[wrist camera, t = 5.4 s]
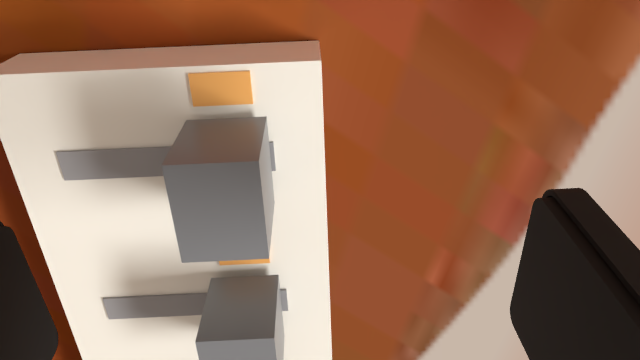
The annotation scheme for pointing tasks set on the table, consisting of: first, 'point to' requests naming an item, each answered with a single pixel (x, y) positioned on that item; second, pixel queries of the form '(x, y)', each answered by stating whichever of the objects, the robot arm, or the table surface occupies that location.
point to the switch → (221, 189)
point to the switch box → (163, 186)
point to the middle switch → (242, 320)
